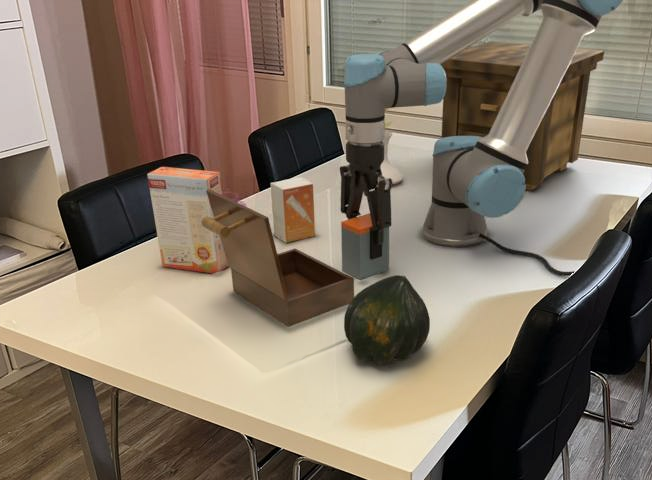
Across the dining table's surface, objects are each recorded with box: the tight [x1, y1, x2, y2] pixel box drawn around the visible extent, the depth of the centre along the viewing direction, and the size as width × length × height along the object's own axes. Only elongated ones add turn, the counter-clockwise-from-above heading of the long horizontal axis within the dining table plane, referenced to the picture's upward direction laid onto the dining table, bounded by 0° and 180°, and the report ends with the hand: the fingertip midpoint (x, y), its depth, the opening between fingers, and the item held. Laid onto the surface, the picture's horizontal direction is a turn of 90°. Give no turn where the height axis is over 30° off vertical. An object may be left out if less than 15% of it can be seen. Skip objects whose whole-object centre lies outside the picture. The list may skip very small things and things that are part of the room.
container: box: [340, 212, 390, 280], centre depth 151 cm, size 8×6×11 cm
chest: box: [230, 248, 355, 327], centre depth 142 cm, size 16×20×6 cm
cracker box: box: [146, 166, 229, 274], centre depth 153 cm, size 14×6×21 cm, turn 71°
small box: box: [269, 176, 316, 244], centre depth 169 cm, size 8×6×13 cm
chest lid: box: [202, 189, 288, 301], centre depth 130 cm, size 16×20×6 cm
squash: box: [343, 274, 431, 365], centre depth 123 cm, size 14×15×15 cm
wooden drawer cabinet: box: [440, 40, 605, 191], centre depth 207 cm, size 35×35×33 cm
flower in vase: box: [381, 108, 404, 185], centre depth 201 cm, size 13×11×25 cm
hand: (365, 252), depth 152 cm, fingers closed on container, 6 cm apart
